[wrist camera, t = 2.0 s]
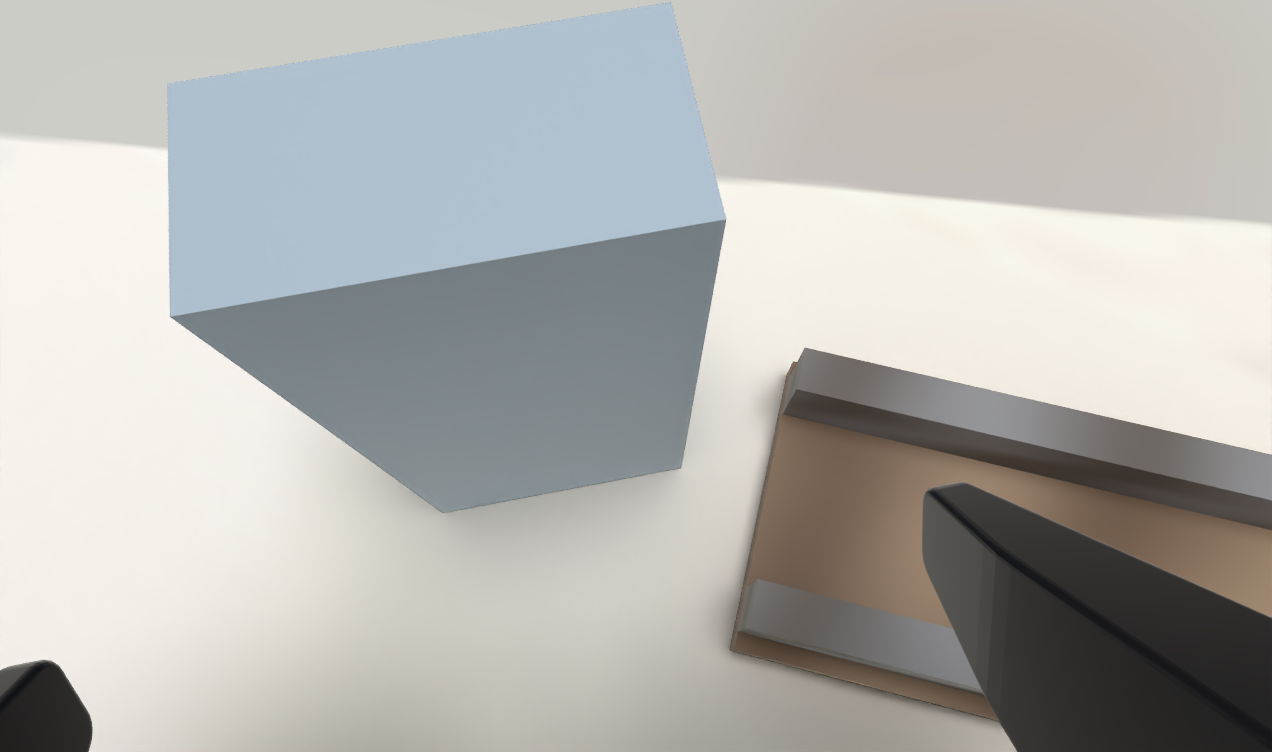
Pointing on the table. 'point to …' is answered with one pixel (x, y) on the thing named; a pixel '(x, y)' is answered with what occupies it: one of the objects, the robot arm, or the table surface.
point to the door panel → (460, 249)
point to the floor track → (991, 460)
